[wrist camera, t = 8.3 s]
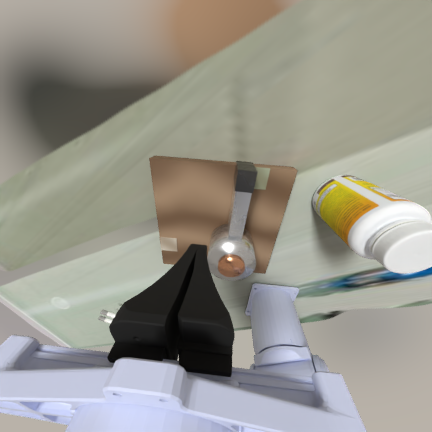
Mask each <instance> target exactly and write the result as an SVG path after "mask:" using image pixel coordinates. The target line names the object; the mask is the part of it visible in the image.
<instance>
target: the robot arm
mask: <svg viewBox="0 0 432 432" xmlns="http://www.w3.org/2000/svg"><path fill="white" fill-rule="evenodd" d="M298 292H299V289H298V288H297V287H288V286H279V285H269V284H259V283H254V284H253V285H252V289H251V292H250V296H249V300H248V303H247V307H246V311H245V314H246V315H248V316H250V318H251V327H252V336H253V346H254V351H255V354H256V355H254V361H255V364H252V365H251V367H250V369H242V368H234V367H232V345H233V341H234V329H233V324H232V321H231V318H230V314H229V312H228V310H227V309H226V307H225V305H224V304H223V302H222V300H221V298H220V296H219V294H218V291H217V289H216V287H215V284H214V282H213V279H212V276H211V273H210V269H209V265H208V260H207V246H206V245H200V244H190V246H189V247H188V249H187V250H186V252H185V253H184V254H183V255H182V257H181V258H180V259H179V260H178V261H177V262H176V264H175V265H174V266H173V267H172V268H171V269H170V270H169V271H168V272H167V273H166V274H165V275H163V276H162V277H161V278H160V279H159V280H158V281H156V282H155V283H154V284H152V285H151V286H150V287H148V288H147V289H145V290H144V291H143V292H141V293H140V294H138V295H136V296H135V297H133V298H131V299H130V300H128V301H126V302H124V304H123V305H122V307H121V308H120V309H119V311H118V312H117V314H116V315H115V317H114V319H113V320H112V322H111V324H110V327H109V329H110V332H111V334H112V336H113V338H114V340H115V343H114V345H113V347H112V349H111V351H110V353H109V352H101V351H92V350H84V349H76V348H68V347H59V346H50V345H43V344H39V342H38V341H37V340H36V339H35V338H33V337H29V336H20V335H11V336H10V337H9V338H8V339H7V340H6V341H5V342H4V343H3V344H2V345H1V346H0V413H6V414H11V415H18V416H23V417H28V418H34V419H39V420H44V421H49V422H54V423H59V424H65V425H68V427H67V429H66V431H65V432H367V431H366V429H365V427H364V424H363V422H362V420H361V417H360V415H359V413H358V411H357V408H356V406H355V404H354V401H353V399H352V397H351V395H350V393H349V390H348V388H347V386H346V383H345V381H344V379H343V377H342V375H341V374H340V373H333V372H329V370H328V368H327V365H326V363H325V362H324V360H322V359H321V358H319V356H318V355H312V354H311V352H310V349H309V346H308V343H307V340H306V338H305V335H304V332H303V329H302V326H301V323H300V321H299V318H298V315H297V312H296V309H295V306H294V304H293V302H294V300H295V298H296V296H297V294H298ZM178 354H179V361H177V359H178Z"/></svg>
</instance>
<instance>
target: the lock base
mask: <svg viewBox="0 0 432 432" xmlns="http://www.w3.org/2000/svg"><path fill="white" fill-rule="evenodd" d="M149 160H150V167H151V175H152V182H153V190H154V197H155V204H156V212H157V219H158V227H159V234H160V244H161V250H162V256H163V263H164V264H174V265H175V264H176V262H177V261H178V260H179V259H180V258H181V257H182V255H183V254H184V253H185V252H186V250H187V249H188V247H189V246H190V244H200V245H206V246H207V257H208V251H209V245H210V238H211V235H212V233H213V231H214V230H215V229H216V228H217V227H219V226H221V225H224V224H228V220H229V213H230V207H231V200H232V194H233V187H234V174H235V167H236V162H225V161H213V160H201V159H188V158H176V157H164V156H153V157H151V158H149ZM254 166H255V168H256V169H257V171H258V173H257V177H256V182H255V187H254V191H253V193H252V195H251V199H250V204H249V209H248V213H247V218H246V222H245V227H244V228H246V229H247V230H248V231H249V233H250V234H251V237H252V243H253V248H254V253H255V258H256V267H255V270H254V271H253V272H254V273H264V274H265V273H266V269H267V266H268V263H269V260H270V257H271V253H272V250H273V247H274V244H275V241H276V238H277V234H278V231H279V228H280V225H281V222H282V219H283V215H284V212H285V209H286V206H287V203H288V200H289V196H290V193H291V190H292V187H293V184H294V181H295V177H296V174H297V171H298V170H296V169H295V168H294V167H286V166H274V165H262V164H254Z"/></svg>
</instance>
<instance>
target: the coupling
mask: <svg viewBox="0 0 432 432" xmlns="http://www.w3.org/2000/svg"><path fill="white" fill-rule="evenodd" d="M257 173H258V171H257V169H256V168H255V166H254V164H253V163H251V162H242V161H236V167H235V174H234V187H233V194H232V200H231V207H230V213H229V220H228V224H224V225H221V226H219V227H217V228H216V229H215V230H214V231H213V233H212V235H211V238H210V245H209V251H208V257H207V260H208V265H209V269H210V272H211V273H212V274H214V275H215V276H216V277H218V278H221V279H224V280H240V279H243V278H246V277H248V276H249V275H250V274H251V273H252V272H253V271H254V270H255V267H256V258H255V253H254V248H253V243H252V237H251V234H250V233H249V231H248V230H247V229H246V228H244V227H245V222H246V218H247V213H248V209H249V204H250V199H251V195H252V193H253V191H254V187H255V182H256V177H257Z"/></svg>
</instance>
